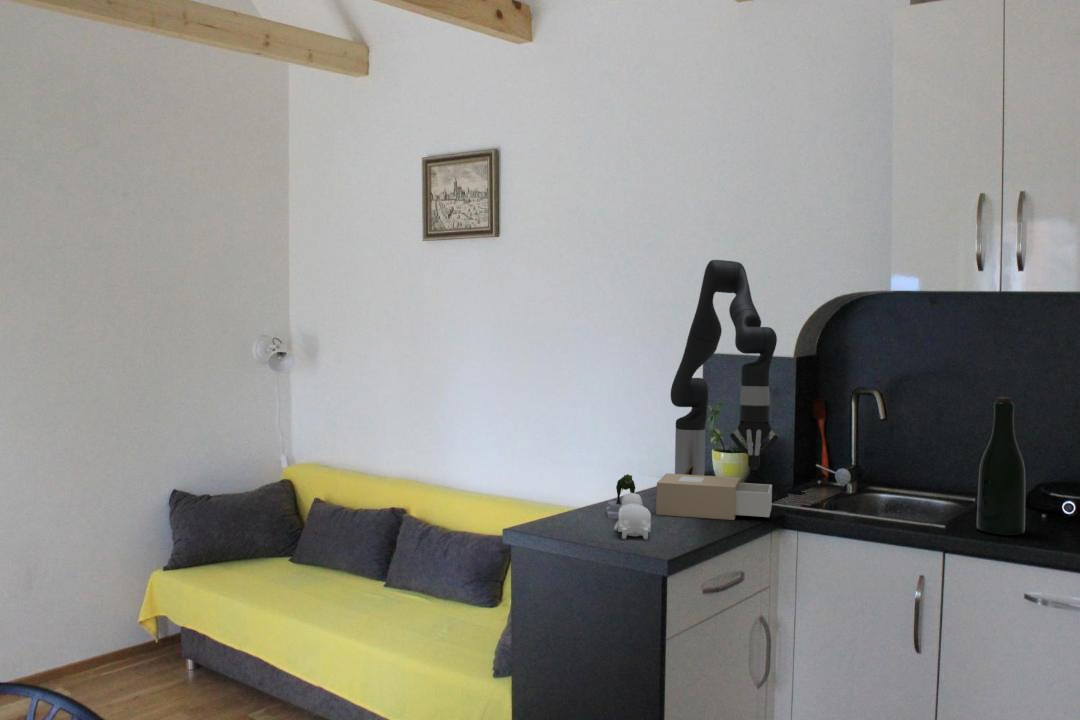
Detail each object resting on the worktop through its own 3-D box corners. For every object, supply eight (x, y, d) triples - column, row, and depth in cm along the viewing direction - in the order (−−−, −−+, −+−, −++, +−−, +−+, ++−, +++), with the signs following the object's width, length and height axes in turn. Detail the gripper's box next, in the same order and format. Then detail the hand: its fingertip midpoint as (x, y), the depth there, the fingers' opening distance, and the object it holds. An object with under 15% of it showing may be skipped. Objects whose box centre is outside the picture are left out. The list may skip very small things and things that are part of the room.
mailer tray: (699, 502, 250) (699, 480, 250) (771, 507, 245) (772, 484, 245) (693, 512, 237) (693, 488, 237) (769, 517, 232) (769, 493, 232)
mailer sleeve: (665, 503, 254) (666, 473, 254) (739, 508, 249) (739, 477, 248) (656, 514, 239) (656, 482, 239) (734, 520, 233) (735, 486, 233)
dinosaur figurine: (609, 522, 229) (610, 475, 229) (604, 506, 249) (605, 463, 249) (646, 522, 229) (647, 476, 229) (638, 507, 249) (639, 464, 249)
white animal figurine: (652, 551, 212) (647, 515, 226) (654, 520, 209) (649, 485, 222) (615, 550, 212) (612, 514, 226) (617, 519, 209) (614, 485, 223)
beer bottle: (987, 525, 230) (991, 394, 229) (1031, 533, 223) (1036, 397, 221) (968, 531, 224) (972, 396, 223) (1013, 539, 216) (1017, 399, 215)
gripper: (781, 403, 241) (780, 468, 241) (730, 401, 244) (729, 466, 245) (780, 405, 233) (779, 472, 234) (727, 403, 237) (726, 470, 238)
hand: (753, 469), depth 239 cm, fingers closed
